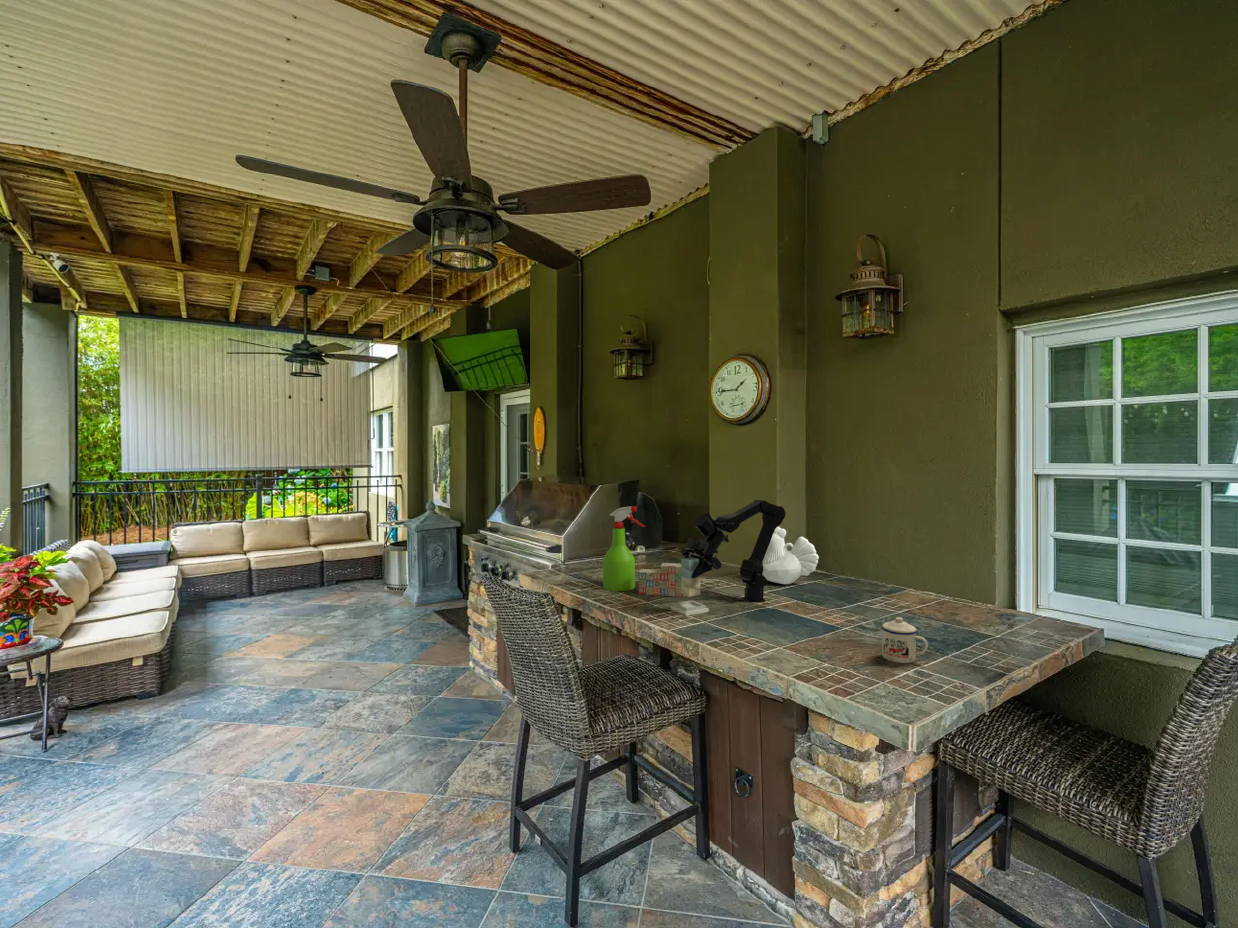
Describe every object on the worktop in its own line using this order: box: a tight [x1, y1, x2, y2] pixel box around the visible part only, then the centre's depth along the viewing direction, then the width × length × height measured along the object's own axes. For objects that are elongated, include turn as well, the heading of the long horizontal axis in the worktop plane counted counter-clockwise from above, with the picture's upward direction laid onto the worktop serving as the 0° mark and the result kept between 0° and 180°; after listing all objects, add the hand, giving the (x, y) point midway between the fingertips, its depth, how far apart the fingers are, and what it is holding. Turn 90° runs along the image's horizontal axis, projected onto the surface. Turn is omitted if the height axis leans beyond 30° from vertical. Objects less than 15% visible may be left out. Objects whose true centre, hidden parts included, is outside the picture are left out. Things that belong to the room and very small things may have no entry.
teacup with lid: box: [881, 616, 929, 664], centre depth 171 cm, size 12×9×12 cm
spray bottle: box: [602, 505, 646, 592], centre depth 257 cm, size 14×18×35 cm
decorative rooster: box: [762, 526, 820, 585], centre depth 263 cm, size 25×16×25 cm, turn 44°
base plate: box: [670, 599, 710, 616], centre depth 222 cm, size 10×10×2 cm
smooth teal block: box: [680, 557, 701, 598], centre depth 221 cm, size 5×5×13 cm
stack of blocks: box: [638, 562, 690, 598], centre depth 246 cm, size 21×6×12 cm, turn 77°
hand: (687, 576), depth 220 cm, fingers closed on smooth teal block, 5 cm apart
